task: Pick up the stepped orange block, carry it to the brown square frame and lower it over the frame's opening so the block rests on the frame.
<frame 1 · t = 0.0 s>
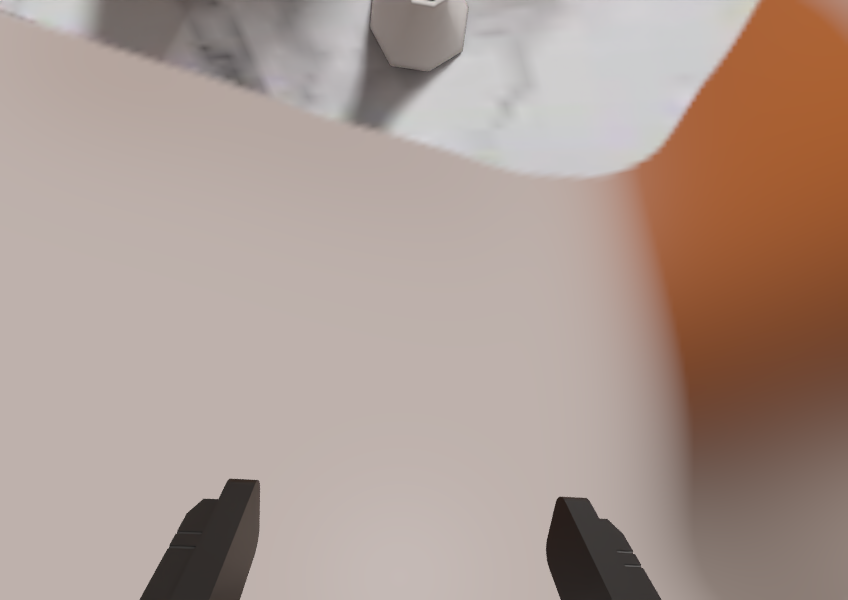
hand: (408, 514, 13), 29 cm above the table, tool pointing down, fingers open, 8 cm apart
flask: (419, 19, 36), on the table
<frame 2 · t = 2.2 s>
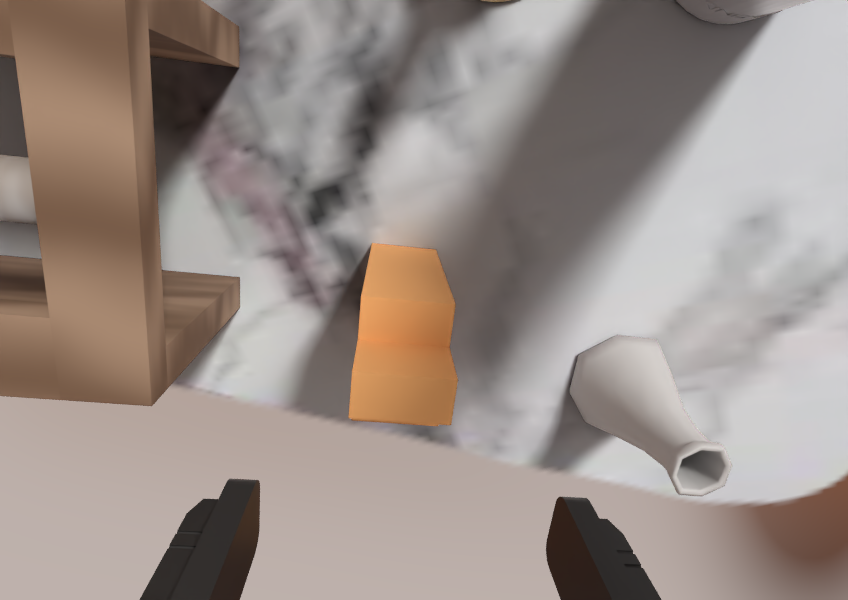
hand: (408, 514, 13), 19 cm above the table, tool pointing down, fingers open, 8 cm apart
brown square frame: (114, 165, 28), on the table
flask: (617, 378, 35), on the table
stepped orange block: (399, 292, 32), on the table
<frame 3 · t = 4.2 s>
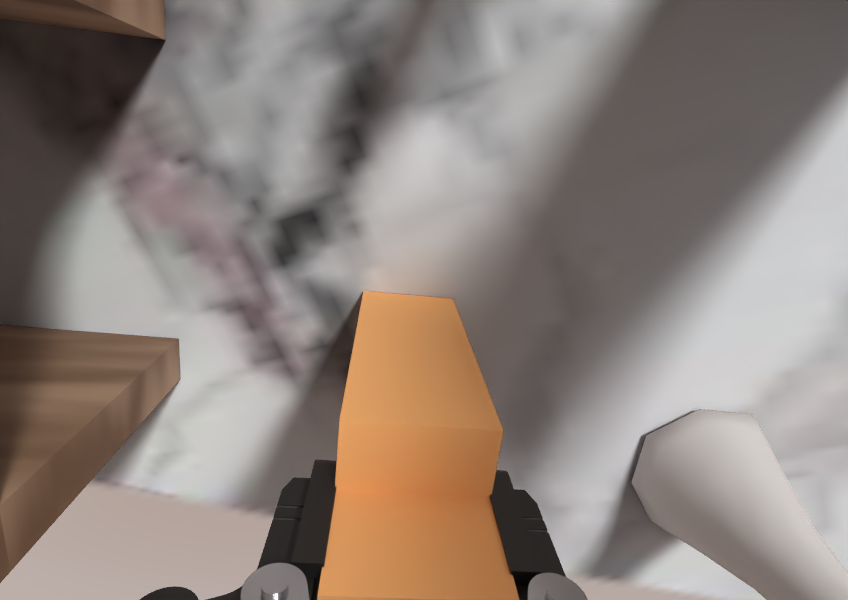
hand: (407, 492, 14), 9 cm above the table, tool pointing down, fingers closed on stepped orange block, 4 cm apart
flask: (694, 463, 26), on the table
stepped orange block: (401, 356, 23), on the table, touching gripper
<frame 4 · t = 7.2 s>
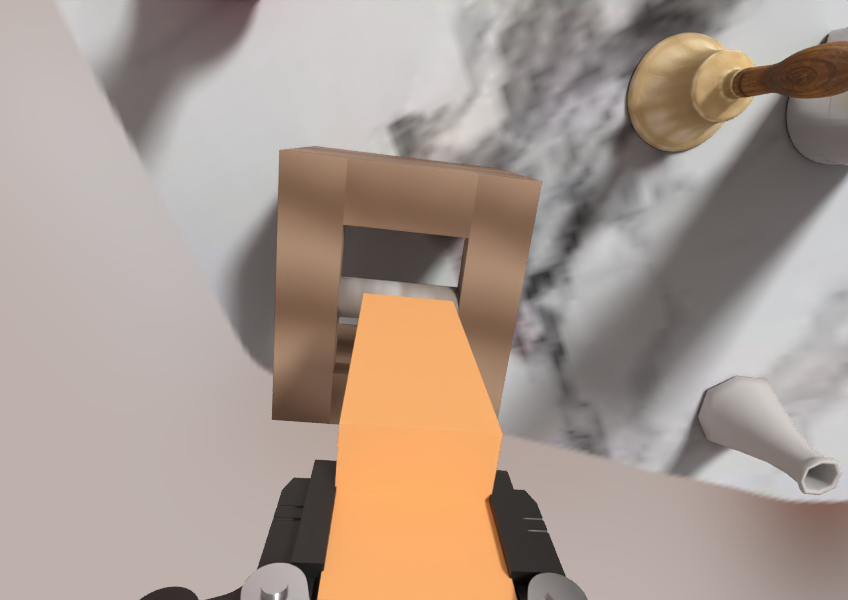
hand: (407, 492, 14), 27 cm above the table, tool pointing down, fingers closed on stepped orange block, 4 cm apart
hand bell: (679, 94, 37), on the table
brown square frame: (397, 259, 40), on the table
flask: (732, 407, 46), on the table
stepped orange block: (402, 358, 23), point 18 cm above the table, touching gripper
when the fingers open (14 cm above the table, at t = 10.1 s): stepped orange block drops 1 cm, resting on brown square frame.
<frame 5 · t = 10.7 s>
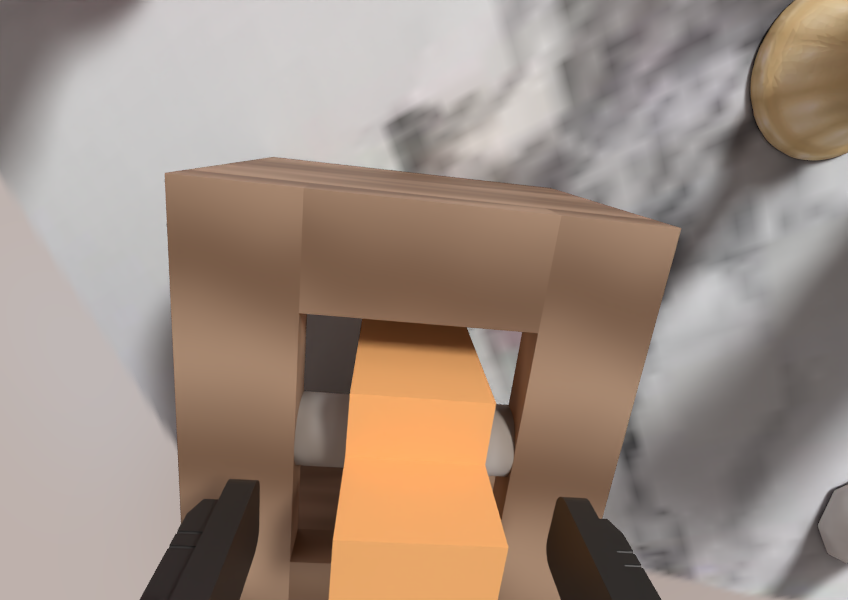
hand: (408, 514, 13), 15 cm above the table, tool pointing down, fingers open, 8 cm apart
hand bell: (826, 73, 25), on the table
brown square frame: (400, 322, 27), on the table
stepped orange block: (404, 344, 24), point 3 cm above the table, touching brown square frame
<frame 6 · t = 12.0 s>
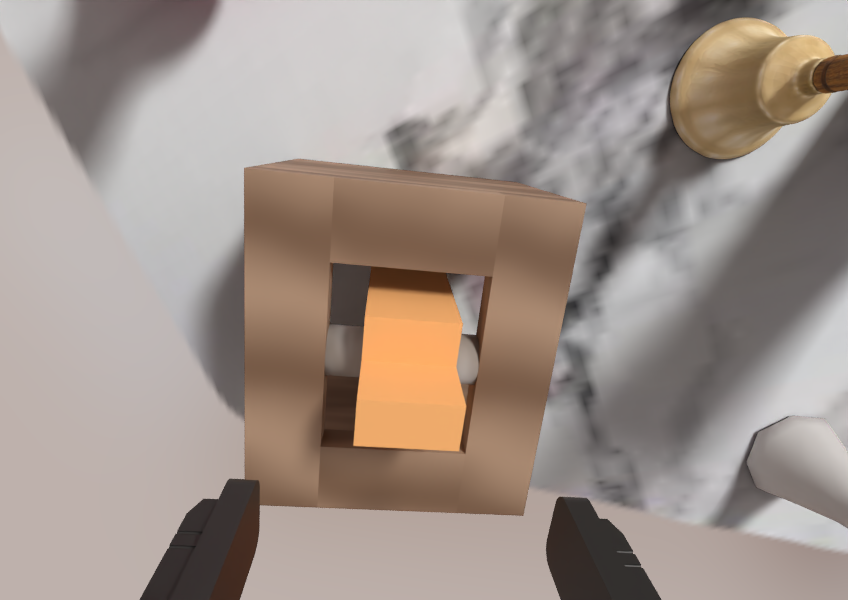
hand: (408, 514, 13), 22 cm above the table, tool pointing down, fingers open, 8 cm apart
hand bell: (730, 91, 31), on the table
brown square frame: (398, 290, 34), on the table
flask: (785, 450, 40), on the table
stepped orange block: (402, 298, 31), point 3 cm above the table, touching brown square frame
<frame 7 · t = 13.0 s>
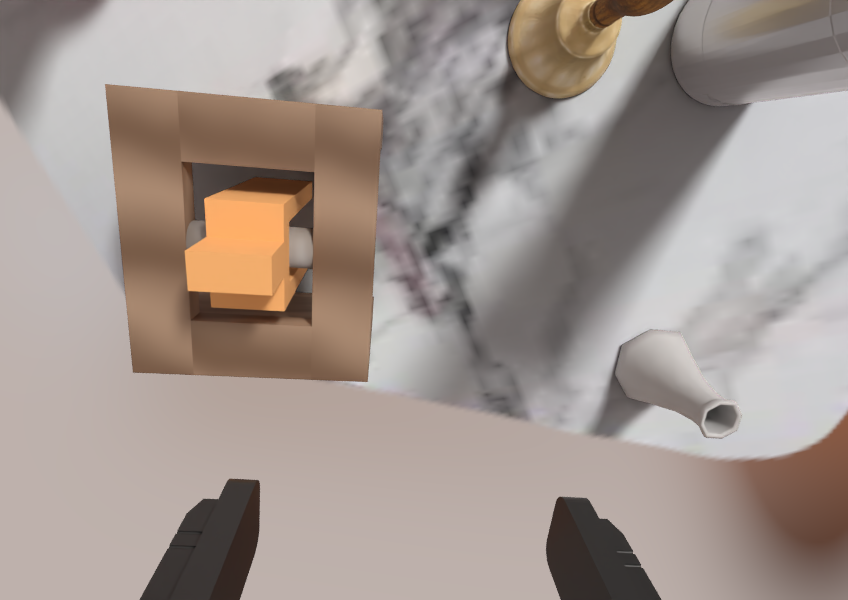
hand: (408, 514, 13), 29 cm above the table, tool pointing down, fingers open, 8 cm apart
hand bell: (560, 39, 37), on the table
brown square frame: (289, 219, 39), on the table
flask: (650, 362, 46), on the table
stepped orange block: (284, 220, 36), point 3 cm above the table, touching brown square frame
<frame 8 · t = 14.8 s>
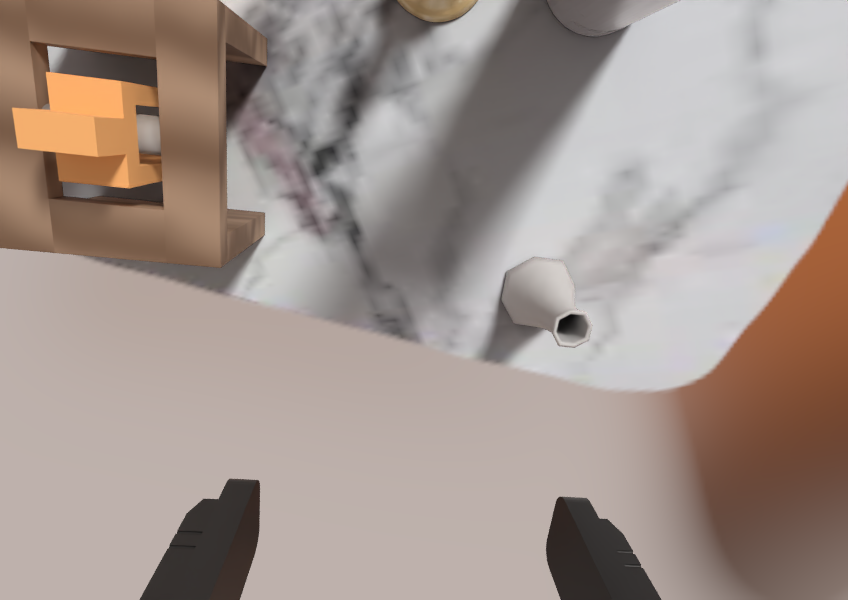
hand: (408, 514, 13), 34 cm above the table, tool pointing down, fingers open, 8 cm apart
brown square frame: (180, 132, 41), on the table
flask: (536, 291, 48), on the table
stepped orange block: (167, 131, 38), point 3 cm above the table, touching brown square frame
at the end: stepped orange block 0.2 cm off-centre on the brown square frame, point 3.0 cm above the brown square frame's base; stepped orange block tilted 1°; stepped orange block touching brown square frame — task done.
